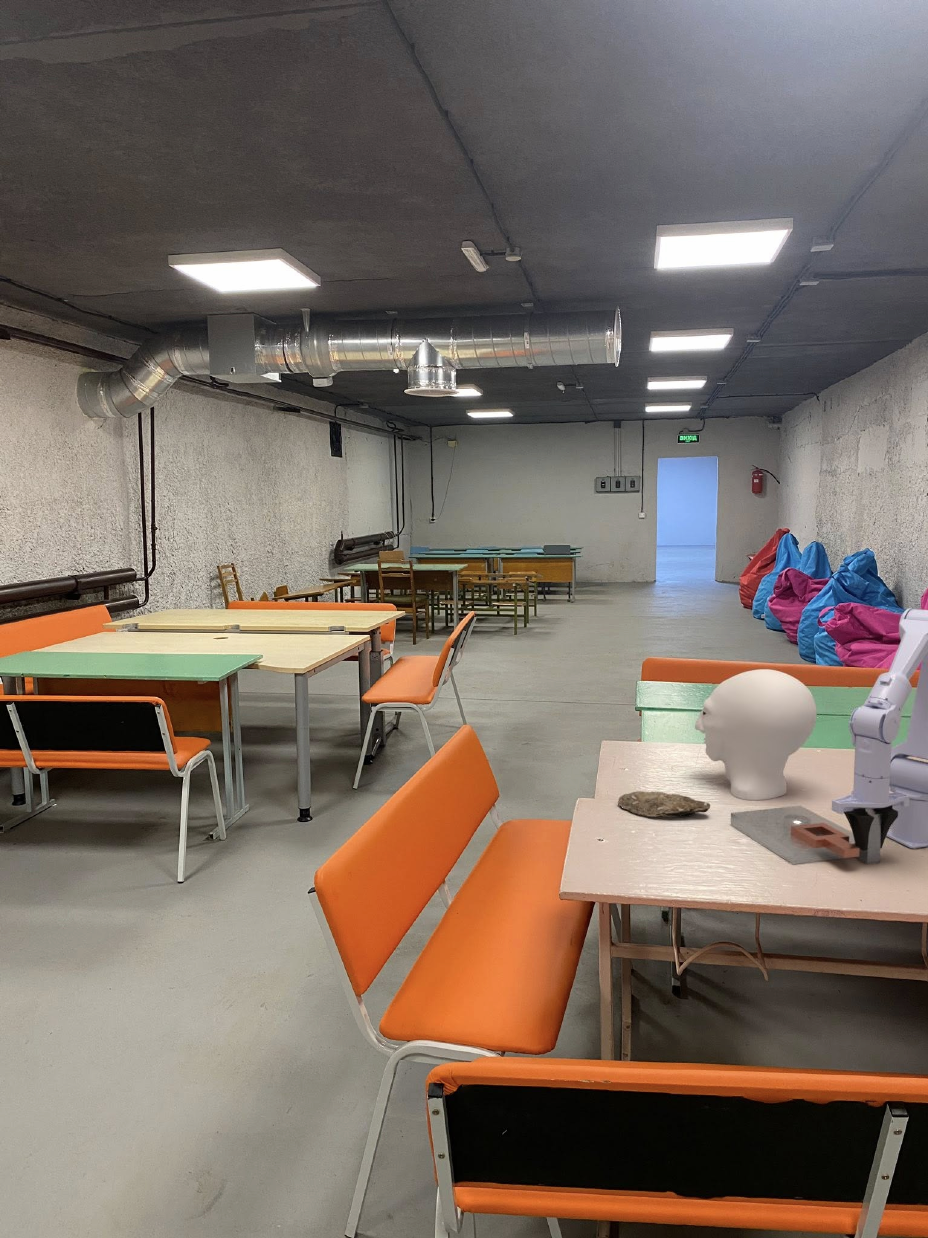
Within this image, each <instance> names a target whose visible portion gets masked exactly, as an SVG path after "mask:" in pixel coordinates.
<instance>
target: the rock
mask: <svg viewBox="0 0 928 1238" xmlns="http://www.w3.org/2000/svg"><path fill="white" fill-rule="evenodd" d="M617 804H618V806H619V807H620V806H621V807H623V808H624V809H623V810H625V809H627V810H626V811H630V812H629V813H631V812H632V814H634V815H636V814H637V815H636V816H643V817H647V818H656V819H660V818H661V819H662V818H668V817H674V818H676V817H677V818H678V817H679V818H682V817H683V818H688V817H691V816H692V815H694V814H696V813H707V812H708V811H709V810H710V808H711V804H710V803H709V802H706V801H701V800H696V799H693V798H691V797H690V796H685V795H681V794H677V793H674V794H673V793H672V794H669V793H666V792H662V791H641V790H638V791H637V790H636V791H633V792H629V793H624V794H622V795H621V796H619V798H618V801H617ZM621 807H620V808H621Z"/></svg>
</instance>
